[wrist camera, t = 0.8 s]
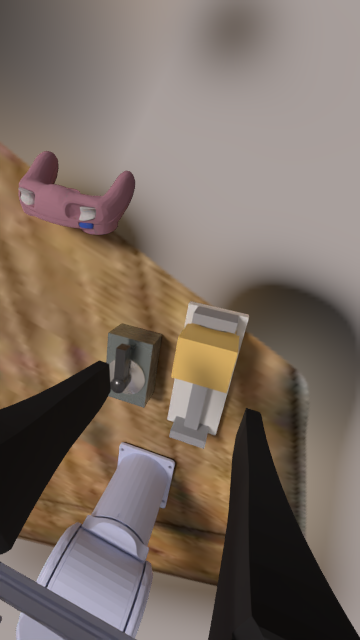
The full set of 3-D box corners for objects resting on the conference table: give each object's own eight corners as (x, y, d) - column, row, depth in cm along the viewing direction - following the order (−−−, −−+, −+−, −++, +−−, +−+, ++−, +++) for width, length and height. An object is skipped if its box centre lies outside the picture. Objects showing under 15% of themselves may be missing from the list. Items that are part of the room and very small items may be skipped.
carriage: (230, 366, 25) (226, 393, 21) (183, 353, 26) (171, 377, 22) (239, 331, 24) (238, 352, 20) (190, 319, 25) (178, 337, 20)
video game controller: (59, 195, 27) (9, 222, 23) (47, 146, 24) (-15, 166, 19) (140, 218, 26) (105, 251, 21) (140, 169, 22) (97, 196, 18)
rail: (216, 429, 30) (212, 451, 27) (169, 414, 31) (160, 434, 28) (248, 314, 24) (249, 326, 21) (190, 301, 25) (183, 310, 22)
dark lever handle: (130, 386, 26) (123, 395, 25) (116, 382, 27) (109, 390, 25) (134, 345, 25) (127, 352, 23) (120, 341, 25) (112, 348, 23)
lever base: (153, 392, 30) (143, 409, 27) (116, 380, 31) (103, 396, 28) (162, 334, 28) (151, 346, 25) (121, 323, 28) (106, 333, 25)
